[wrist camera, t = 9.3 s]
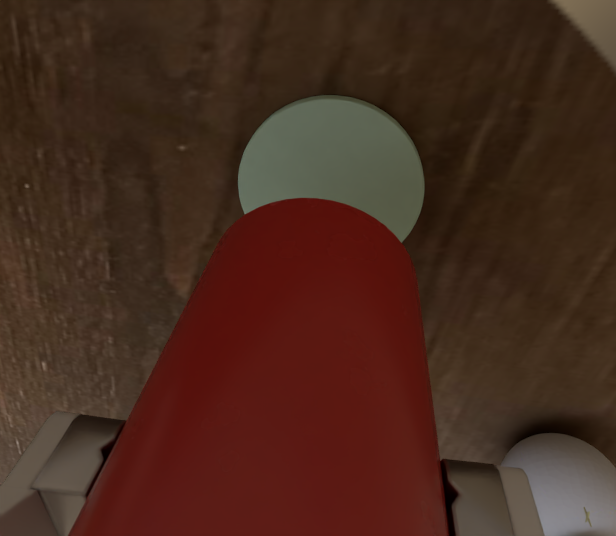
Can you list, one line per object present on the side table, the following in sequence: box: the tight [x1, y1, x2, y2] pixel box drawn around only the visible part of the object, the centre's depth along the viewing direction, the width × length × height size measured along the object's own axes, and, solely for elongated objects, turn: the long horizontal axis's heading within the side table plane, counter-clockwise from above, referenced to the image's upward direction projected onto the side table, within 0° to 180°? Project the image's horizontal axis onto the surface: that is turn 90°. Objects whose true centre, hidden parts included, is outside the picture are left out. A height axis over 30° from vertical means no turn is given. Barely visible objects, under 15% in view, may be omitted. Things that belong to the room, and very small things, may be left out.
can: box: [68, 198, 450, 536], centre depth 10 cm, size 6×6×12 cm
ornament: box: [501, 433, 616, 536], centre depth 23 cm, size 6×7×10 cm
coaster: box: [238, 95, 425, 243], centre depth 20 cm, size 8×8×1 cm
